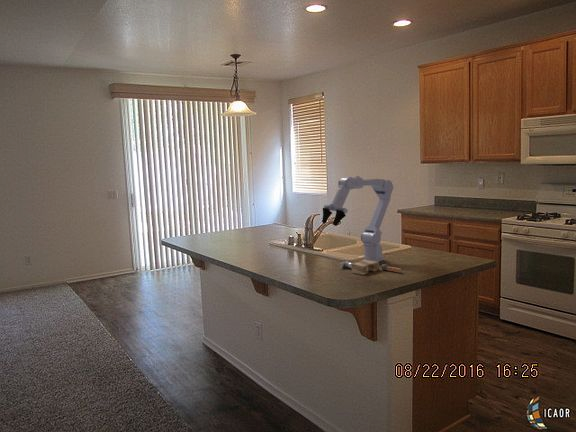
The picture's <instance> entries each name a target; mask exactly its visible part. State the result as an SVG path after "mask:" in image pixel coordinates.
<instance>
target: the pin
mask: <svg viewBox="0 0 576 432" xmlns="http://www.w3.org/2000/svg"><path fill="white" fill-rule="evenodd" d="M352 264H354V262H351V261H350V260H345V261H342V262H340V265H339V266H340V270H341V269H342V270H344V269H350V270H352Z"/></svg>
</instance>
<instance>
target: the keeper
mask: <svg viewBox="0 0 576 432" xmlns="http://www.w3.org/2000/svg"><path fill="white" fill-rule="evenodd" d="M381 270H382V271H390V272H395V273H402V272H403V268H399V267H396V266H395V267H394V266H389V265H388V264H385V263H384V264H383V263H382V264H381Z"/></svg>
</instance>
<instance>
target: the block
mask: <svg viewBox="0 0 576 432" xmlns="http://www.w3.org/2000/svg"><path fill="white" fill-rule="evenodd" d="M353 263H354V262H353ZM369 271H371V272H377V271H380V261H373V260H365V261H361V260H360V261H358V262H355V263H354V264H352V269H351V273H353V274H357V275H362V276H364V275H366V274H369Z"/></svg>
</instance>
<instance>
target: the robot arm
mask: <svg viewBox="0 0 576 432" xmlns="http://www.w3.org/2000/svg"><path fill="white" fill-rule="evenodd" d="M364 186H367V187H368V186H369V187H370V186H371V188H372V191H374V193H375V195H376V196H377V197H378V198H379V199H378V202H377V204H376V207H375V210H374V213H373V215H372V217H371V220H370V223H369V225H368V226H366V227H365V228H364V230H363V232H362V233H361V234H360V240H361V242H362V245H363V250H364V251H363V252H364V253H363V254H364V259H362V260H360V262H361V261H365V260H373V261H379V262H381V261H384V258H383V248H382V245H381V244H380V243H381V241H382V235H383V234H382V231H381V229H380V228H381V226H382V223H383V220H384V217H385V214H386V212H387V210H388V206H389V204H390V202H391V198H392V193H393V191H394V184H393V182H392V181H391V180H390V179H383V178H368V179H364V178H363V177H360V176H359V175H356V176H354V177H352V176H349V177H342V178H340V180H338V184H337V191H336V192H335V195H334V197H333V199H332V202H331V203H329V204H324V207H323V208H322V220H321V222H322V223H323V224H324V225H325V224H326V223H327V222H328V220H329V218H330V216H332V214H333V212H335V216H334V219H333V222H332V225H334V226H335V227H336V226H338V224H339V223H340V222H341V221H342V220H343V219H344V218H345V217H346V214H348V211H349V210H348V208H346V207H344V205H345V202H346V200H347V198H348V195H349V193H350V190H354V189H363V188H364Z"/></svg>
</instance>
